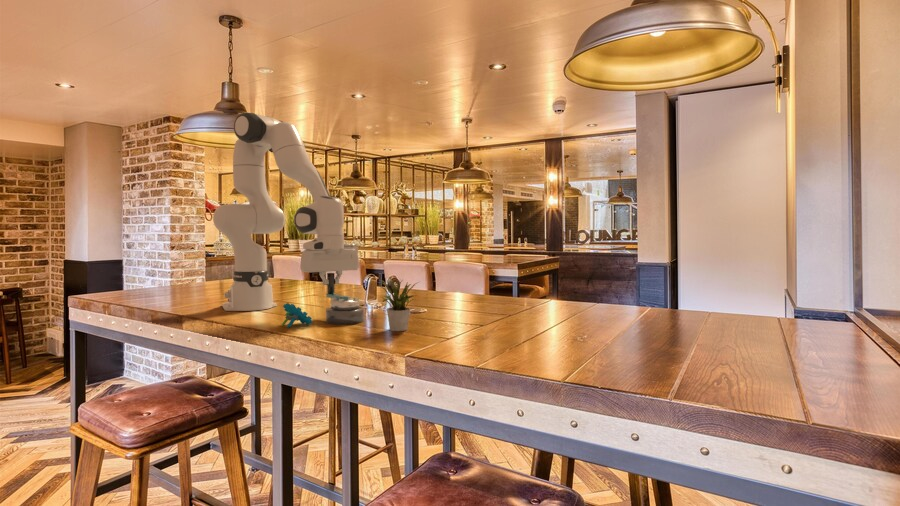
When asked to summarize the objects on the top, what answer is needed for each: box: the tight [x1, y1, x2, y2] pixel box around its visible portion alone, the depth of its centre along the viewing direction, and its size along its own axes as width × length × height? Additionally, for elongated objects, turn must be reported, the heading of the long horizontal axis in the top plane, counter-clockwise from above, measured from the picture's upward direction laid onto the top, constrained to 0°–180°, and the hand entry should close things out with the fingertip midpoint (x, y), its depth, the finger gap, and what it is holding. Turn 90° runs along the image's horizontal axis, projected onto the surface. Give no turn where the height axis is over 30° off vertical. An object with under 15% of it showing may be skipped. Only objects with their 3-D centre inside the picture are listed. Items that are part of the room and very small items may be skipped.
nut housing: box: [325, 305, 365, 326], centre depth 159 cm, size 12×12×4 cm
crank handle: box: [326, 272, 360, 310], centre depth 161 cm, size 16×9×11 cm, turn 40°
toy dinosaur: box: [281, 302, 313, 328], centre depth 149 cm, size 11×6×10 cm
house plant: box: [378, 278, 420, 332], centre depth 145 cm, size 14×14×16 cm
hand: (330, 284), depth 166 cm, fingers closed on crank handle, 2 cm apart
